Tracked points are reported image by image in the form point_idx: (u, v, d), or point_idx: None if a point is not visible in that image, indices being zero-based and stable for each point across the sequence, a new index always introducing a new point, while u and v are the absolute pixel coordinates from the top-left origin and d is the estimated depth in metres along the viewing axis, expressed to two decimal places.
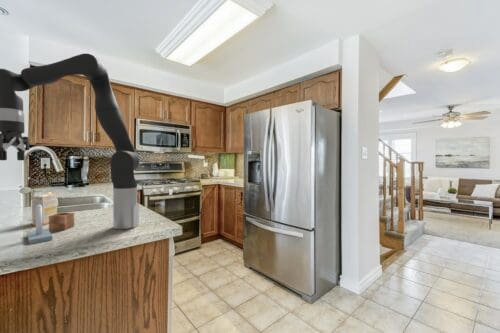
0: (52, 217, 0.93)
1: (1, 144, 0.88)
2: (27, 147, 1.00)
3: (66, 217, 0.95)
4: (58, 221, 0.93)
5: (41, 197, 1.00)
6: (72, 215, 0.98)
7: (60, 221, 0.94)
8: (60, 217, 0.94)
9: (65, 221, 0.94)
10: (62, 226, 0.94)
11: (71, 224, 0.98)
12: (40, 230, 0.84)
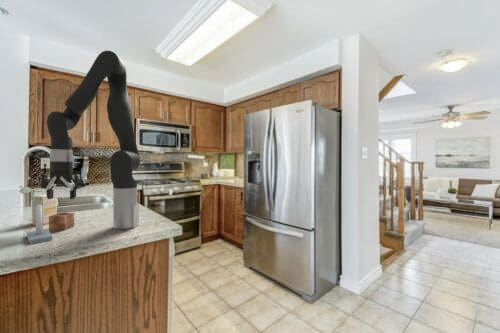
0: (52, 217, 0.93)
1: None
2: None
3: (66, 217, 0.95)
4: (58, 221, 0.93)
5: (41, 197, 1.00)
6: (72, 215, 0.98)
7: (60, 221, 0.94)
8: (60, 217, 0.94)
9: (65, 221, 0.94)
10: (62, 226, 0.94)
11: (71, 224, 0.98)
12: (40, 230, 0.84)
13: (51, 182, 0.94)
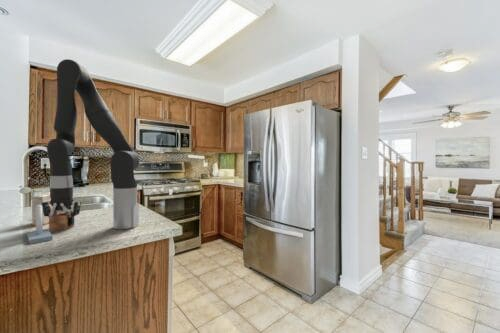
0: (52, 217, 0.93)
1: None
2: None
3: (66, 217, 0.95)
4: (58, 221, 0.93)
5: (41, 197, 1.00)
6: None
7: (60, 221, 0.94)
8: (60, 217, 0.94)
9: (65, 221, 0.94)
10: (62, 226, 0.94)
11: None
12: (40, 230, 0.84)
13: (52, 209, 0.94)
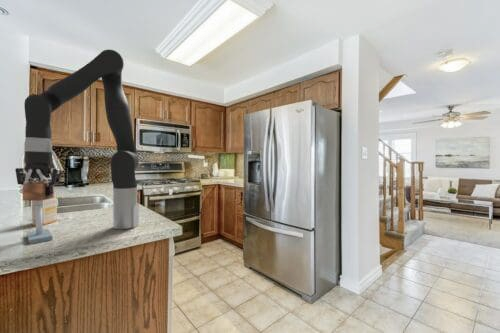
0: (27, 185, 0.81)
1: None
2: None
3: (43, 186, 0.83)
4: (33, 189, 0.81)
5: None
6: None
7: (36, 189, 0.81)
8: (36, 185, 0.81)
9: (42, 190, 0.82)
10: (38, 195, 0.82)
11: None
12: (40, 230, 0.84)
13: (27, 176, 0.82)
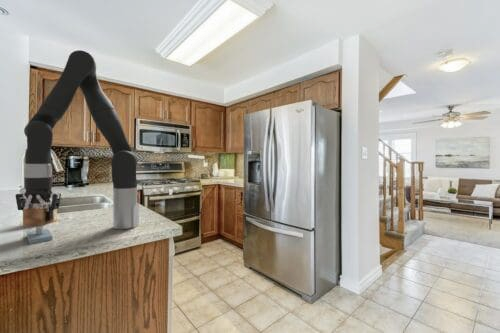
0: (27, 211, 0.81)
1: None
2: None
3: (43, 211, 0.83)
4: (33, 215, 0.82)
5: None
6: None
7: (36, 215, 0.82)
8: (36, 211, 0.82)
9: (42, 216, 0.82)
10: (38, 221, 0.82)
11: None
12: (40, 230, 0.84)
13: (27, 202, 0.82)
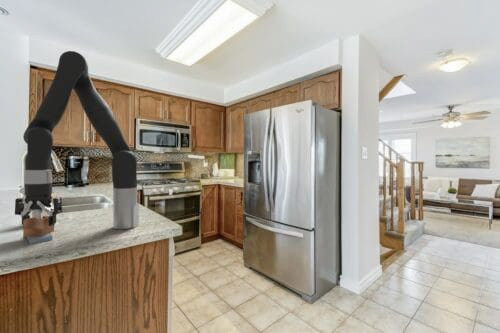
0: (27, 221, 0.81)
1: None
2: None
3: (43, 221, 0.83)
4: (34, 225, 0.82)
5: None
6: None
7: (37, 225, 0.82)
8: (36, 221, 0.82)
9: (42, 226, 0.82)
10: (38, 231, 0.82)
11: (50, 229, 0.86)
12: None
13: (26, 207, 0.82)
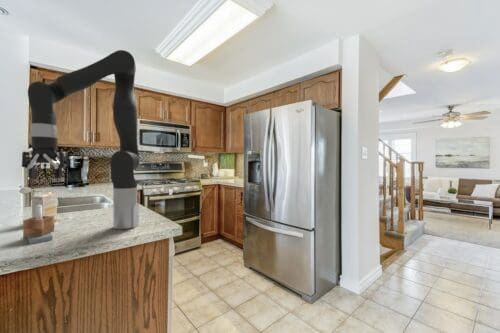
0: (27, 221, 0.81)
1: None
2: None
3: (43, 221, 0.83)
4: (34, 225, 0.82)
5: (41, 197, 1.00)
6: (51, 219, 0.87)
7: (37, 225, 0.82)
8: (36, 221, 0.82)
9: (42, 226, 0.82)
10: (38, 231, 0.82)
11: (50, 229, 0.86)
12: None
13: (33, 160, 0.86)
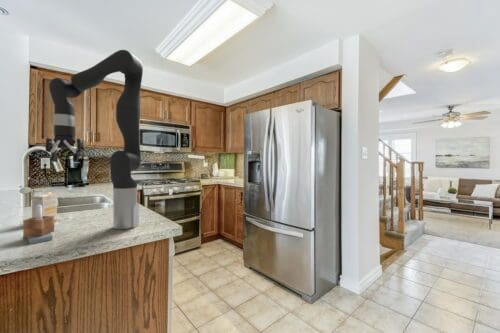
0: (27, 221, 0.81)
1: None
2: None
3: (43, 221, 0.83)
4: (34, 225, 0.82)
5: (41, 197, 1.00)
6: (51, 219, 0.87)
7: (37, 225, 0.82)
8: (36, 221, 0.82)
9: (42, 226, 0.82)
10: (38, 231, 0.82)
11: (50, 229, 0.86)
12: None
13: (55, 145, 1.00)
